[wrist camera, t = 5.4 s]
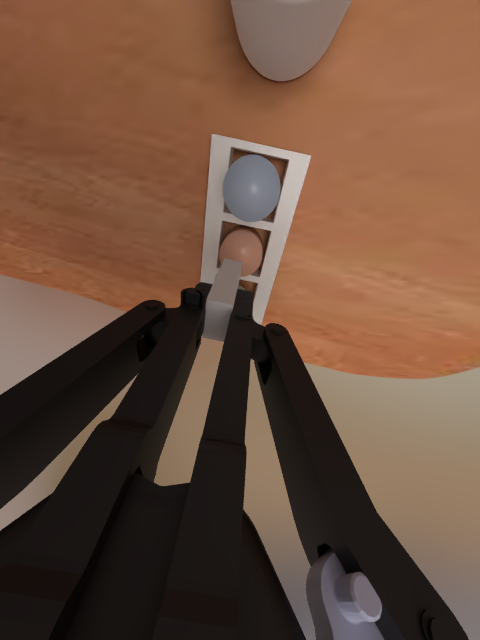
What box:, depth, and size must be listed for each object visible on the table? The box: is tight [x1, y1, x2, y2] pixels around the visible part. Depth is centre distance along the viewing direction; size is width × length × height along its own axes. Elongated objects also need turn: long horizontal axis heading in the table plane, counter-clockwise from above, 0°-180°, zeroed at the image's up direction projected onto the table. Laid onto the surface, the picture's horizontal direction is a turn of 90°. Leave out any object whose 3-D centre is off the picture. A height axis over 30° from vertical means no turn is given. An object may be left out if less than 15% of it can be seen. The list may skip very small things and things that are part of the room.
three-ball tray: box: [200, 134, 311, 324], centre depth 25 cm, size 9×19×2 cm, turn 170°
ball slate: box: [223, 155, 281, 222], centre depth 19 cm, size 5×5×4 cm
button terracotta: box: [219, 226, 263, 277], centre depth 24 cm, size 5×5×4 cm
